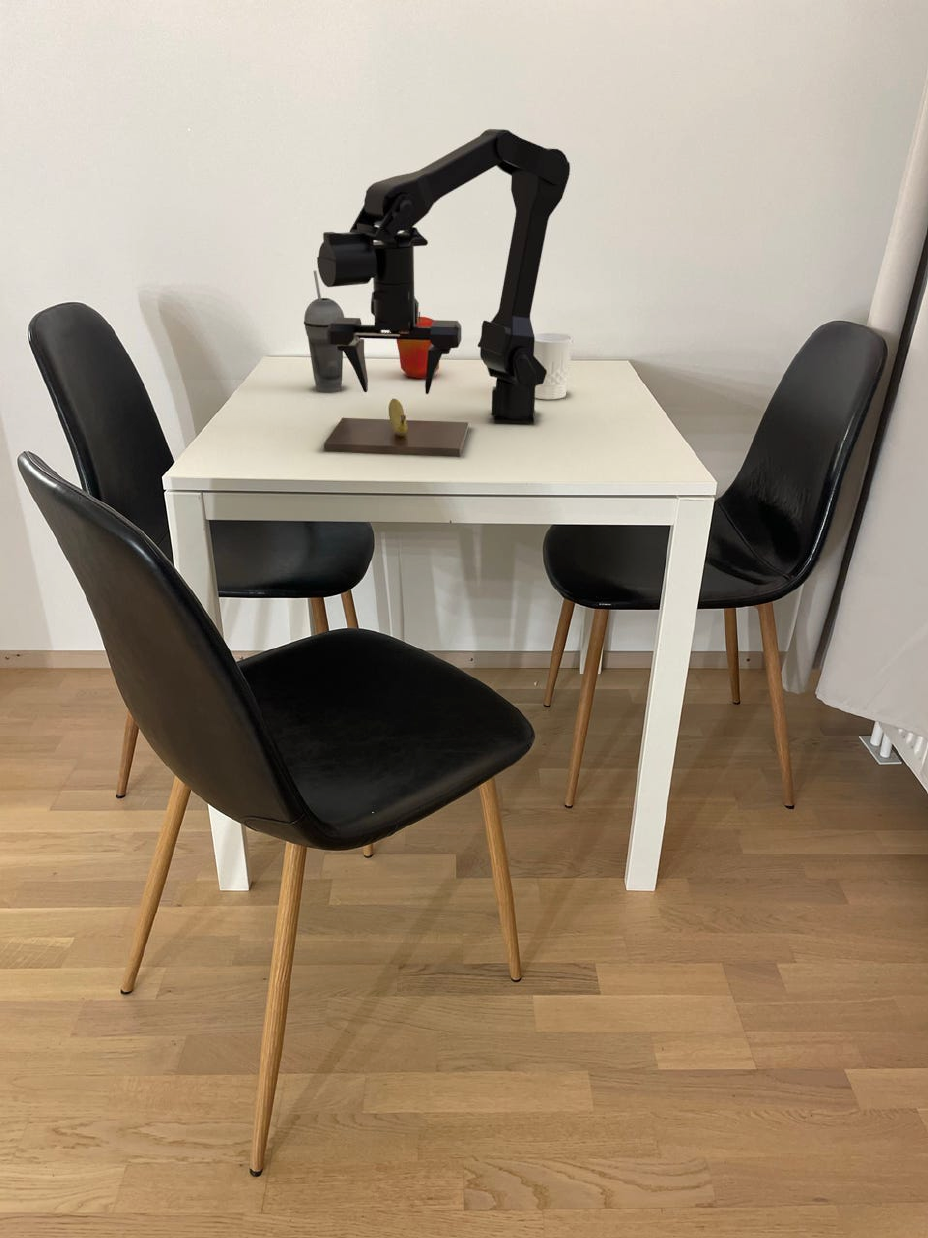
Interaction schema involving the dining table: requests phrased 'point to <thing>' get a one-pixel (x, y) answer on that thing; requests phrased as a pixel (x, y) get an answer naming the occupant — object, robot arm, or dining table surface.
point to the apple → (415, 352)
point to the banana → (397, 418)
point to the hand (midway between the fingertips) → (396, 392)
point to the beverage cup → (323, 342)
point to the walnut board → (397, 437)
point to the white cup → (553, 363)
